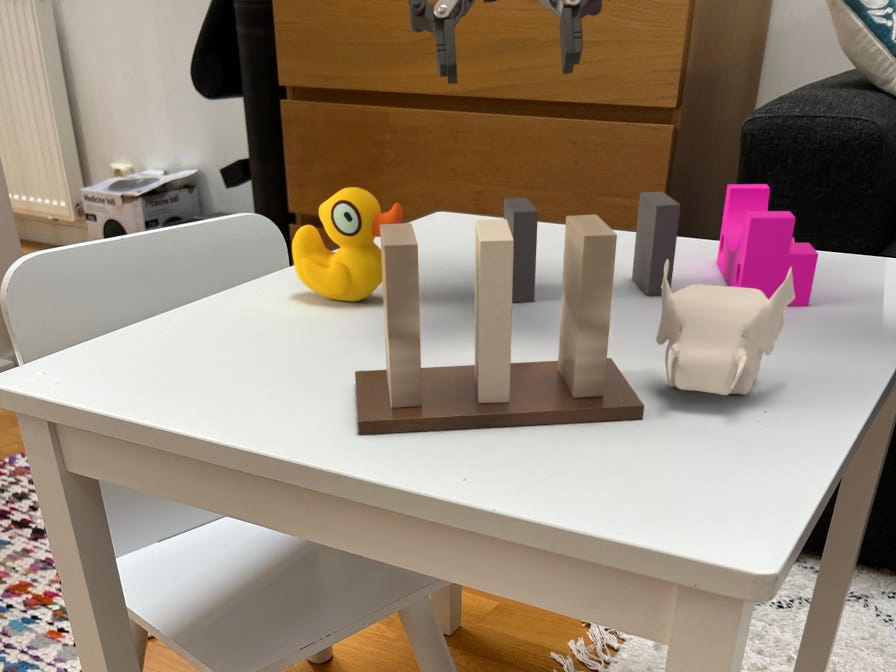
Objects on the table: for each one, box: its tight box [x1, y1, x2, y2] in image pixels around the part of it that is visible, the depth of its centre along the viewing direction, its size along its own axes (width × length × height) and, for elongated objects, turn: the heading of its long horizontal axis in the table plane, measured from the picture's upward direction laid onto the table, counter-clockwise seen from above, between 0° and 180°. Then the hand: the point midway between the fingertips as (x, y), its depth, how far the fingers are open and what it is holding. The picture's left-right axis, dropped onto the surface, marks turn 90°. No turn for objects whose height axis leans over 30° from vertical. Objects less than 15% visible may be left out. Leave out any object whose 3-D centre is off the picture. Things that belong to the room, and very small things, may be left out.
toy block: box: [716, 183, 819, 307], centre depth 94 cm, size 15×6×8 cm, turn 173°
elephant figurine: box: [655, 259, 795, 396], centre depth 71 cm, size 10×12×9 cm
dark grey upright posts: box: [503, 191, 681, 304], centre depth 94 cm, size 15×6×8 cm, turn 94°
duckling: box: [291, 186, 404, 302], centre depth 93 cm, size 11×5×10 cm, turn 67°
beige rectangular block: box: [474, 218, 514, 403], centre depth 69 cm, size 2×6×11 cm, turn 0°
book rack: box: [354, 214, 645, 435], centre depth 70 cm, size 20×10×12 cm, turn 94°
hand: (510, 72), depth 73 cm, fingers open, 8 cm apart
